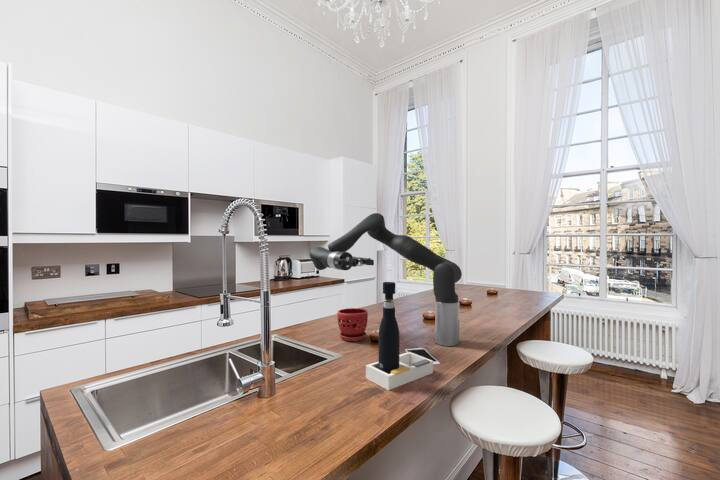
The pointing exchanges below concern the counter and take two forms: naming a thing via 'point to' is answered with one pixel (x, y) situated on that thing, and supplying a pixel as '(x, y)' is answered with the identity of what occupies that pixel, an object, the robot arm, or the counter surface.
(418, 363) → the bottle holder
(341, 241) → the robot arm
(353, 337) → the plant pot
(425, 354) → the cell phone
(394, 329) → the black water bottle
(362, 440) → the counter surface
